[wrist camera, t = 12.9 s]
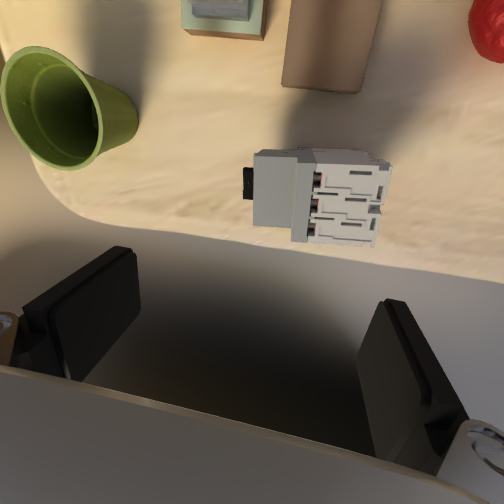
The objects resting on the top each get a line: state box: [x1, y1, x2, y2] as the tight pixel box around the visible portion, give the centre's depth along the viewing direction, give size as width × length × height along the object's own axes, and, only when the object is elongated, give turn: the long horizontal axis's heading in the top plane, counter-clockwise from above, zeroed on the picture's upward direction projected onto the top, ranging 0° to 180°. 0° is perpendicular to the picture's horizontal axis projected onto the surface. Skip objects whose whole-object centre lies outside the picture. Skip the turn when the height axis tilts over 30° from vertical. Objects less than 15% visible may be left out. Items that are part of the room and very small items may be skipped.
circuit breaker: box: [243, 148, 393, 248], centre depth 32 cm, size 8×14×15 cm, turn 89°
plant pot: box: [0, 46, 138, 171], centre depth 34 cm, size 12×12×11 cm
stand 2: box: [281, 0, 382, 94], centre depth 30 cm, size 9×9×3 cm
